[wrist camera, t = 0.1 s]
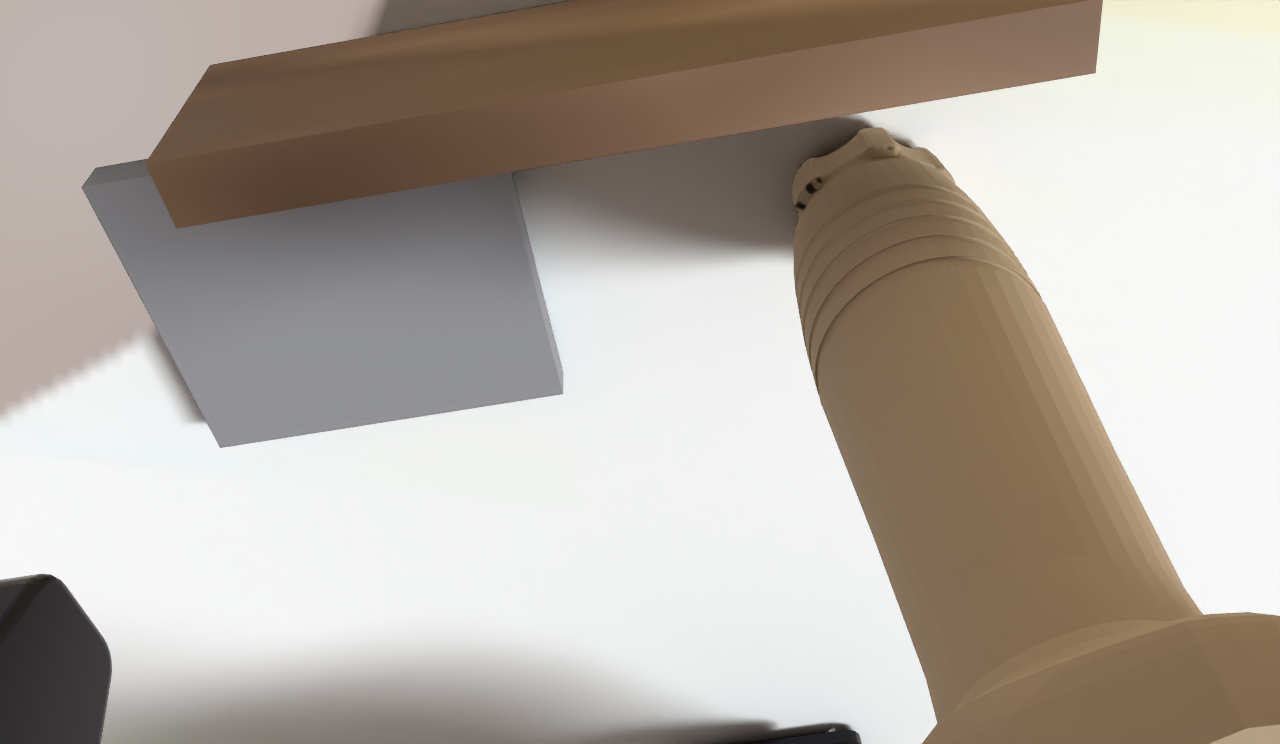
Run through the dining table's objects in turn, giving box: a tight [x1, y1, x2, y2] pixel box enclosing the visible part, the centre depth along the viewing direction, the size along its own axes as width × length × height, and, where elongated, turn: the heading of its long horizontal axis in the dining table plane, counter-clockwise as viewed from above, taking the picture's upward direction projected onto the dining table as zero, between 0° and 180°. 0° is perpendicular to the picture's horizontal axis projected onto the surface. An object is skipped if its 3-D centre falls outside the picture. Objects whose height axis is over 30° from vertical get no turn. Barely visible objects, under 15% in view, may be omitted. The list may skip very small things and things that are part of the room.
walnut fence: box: [145, 0, 1103, 229], centre depth 19 cm, size 1×15×4 cm, turn 99°
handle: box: [792, 128, 1280, 744], centre depth 17 cm, size 5×6×15 cm
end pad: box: [82, 159, 563, 448], centre depth 23 cm, size 7×8×1 cm
